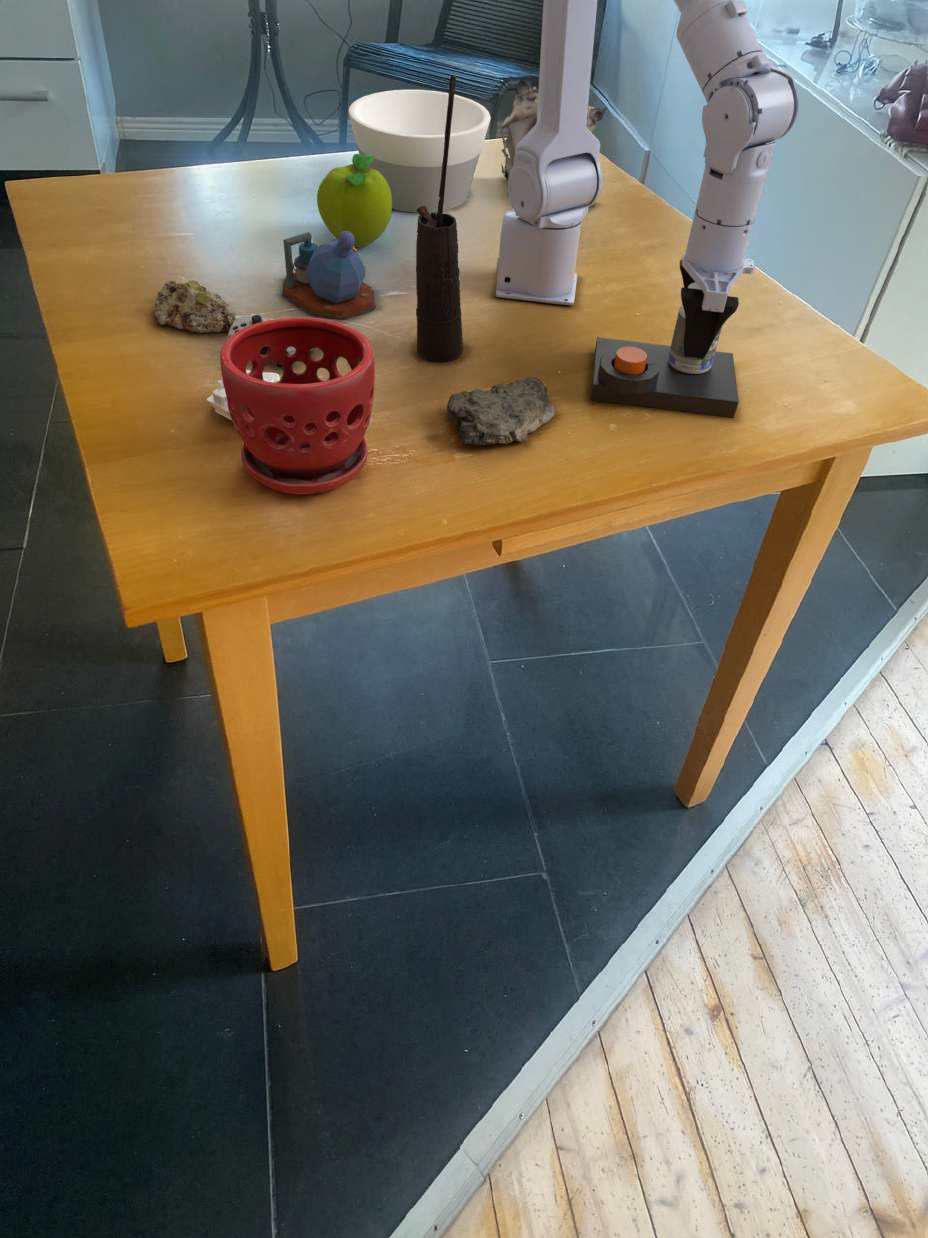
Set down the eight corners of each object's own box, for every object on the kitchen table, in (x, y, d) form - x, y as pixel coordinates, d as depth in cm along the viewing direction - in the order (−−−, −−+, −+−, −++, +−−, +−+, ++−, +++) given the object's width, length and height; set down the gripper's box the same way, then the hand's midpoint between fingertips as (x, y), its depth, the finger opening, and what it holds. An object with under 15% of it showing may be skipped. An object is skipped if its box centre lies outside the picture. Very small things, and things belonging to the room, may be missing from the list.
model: (390, 303, 112) (390, 224, 105) (327, 326, 107) (323, 246, 101) (329, 265, 118) (325, 189, 111) (266, 286, 113) (259, 208, 107)
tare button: (613, 373, 97) (615, 360, 96) (614, 358, 100) (616, 344, 99) (644, 377, 97) (647, 364, 96) (644, 361, 99) (647, 348, 98)
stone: (529, 385, 101) (532, 361, 99) (578, 426, 96) (582, 402, 94) (415, 422, 95) (416, 397, 93) (461, 468, 90) (463, 442, 88)
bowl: (334, 173, 139) (330, 93, 131) (456, 162, 145) (459, 84, 137) (375, 227, 127) (374, 142, 119) (506, 212, 132) (513, 130, 125)
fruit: (398, 231, 126) (398, 152, 119) (381, 261, 120) (380, 179, 112) (331, 222, 127) (328, 143, 120) (311, 252, 120) (306, 170, 113)
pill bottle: (711, 378, 100) (731, 303, 94) (666, 371, 101) (683, 296, 95) (711, 355, 103) (731, 282, 98) (668, 349, 104) (685, 275, 98)
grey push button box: (589, 405, 99) (594, 375, 96) (594, 352, 106) (599, 323, 104) (734, 423, 98) (743, 393, 95) (728, 368, 106) (736, 339, 103)
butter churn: (378, 332, 107) (374, 53, 87) (457, 321, 110) (471, 48, 90) (404, 373, 101) (406, 84, 81) (487, 360, 104) (508, 77, 84)
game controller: (325, 335, 104) (305, 316, 98) (312, 383, 104) (292, 367, 98) (246, 317, 106) (222, 298, 100) (233, 364, 106) (209, 347, 100)
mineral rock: (128, 297, 105) (179, 255, 108) (143, 327, 109) (191, 286, 112) (197, 332, 101) (248, 288, 104) (210, 362, 105) (258, 319, 108)
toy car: (202, 414, 94) (195, 377, 91) (261, 382, 99) (257, 345, 96) (235, 432, 92) (230, 395, 89) (294, 399, 97) (291, 362, 94)
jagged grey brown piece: (598, 203, 136) (613, 104, 127) (583, 212, 134) (597, 111, 125) (511, 175, 142) (520, 78, 133) (495, 183, 140) (502, 85, 130)
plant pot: (402, 477, 88) (403, 362, 80) (275, 524, 83) (262, 405, 74) (332, 409, 96) (326, 297, 87) (211, 449, 90) (192, 333, 81)
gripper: (773, 251, 85) (735, 383, 95) (761, 189, 96) (727, 315, 105) (695, 242, 86) (664, 375, 95) (691, 182, 96) (663, 308, 106)
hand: (693, 343), depth 100 cm, fingers closed on pill bottle, 5 cm apart
